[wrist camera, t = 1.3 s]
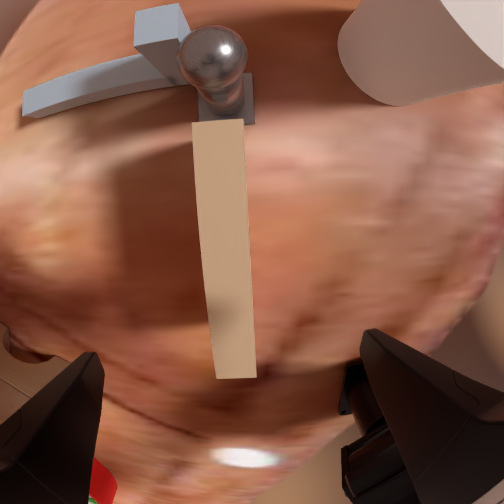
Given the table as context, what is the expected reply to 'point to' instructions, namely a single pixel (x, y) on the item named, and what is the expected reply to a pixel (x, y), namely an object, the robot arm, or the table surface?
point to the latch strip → (119, 67)
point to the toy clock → (101, 485)
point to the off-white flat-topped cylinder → (423, 48)
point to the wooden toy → (22, 377)
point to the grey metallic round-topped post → (217, 73)
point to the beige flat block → (225, 244)
